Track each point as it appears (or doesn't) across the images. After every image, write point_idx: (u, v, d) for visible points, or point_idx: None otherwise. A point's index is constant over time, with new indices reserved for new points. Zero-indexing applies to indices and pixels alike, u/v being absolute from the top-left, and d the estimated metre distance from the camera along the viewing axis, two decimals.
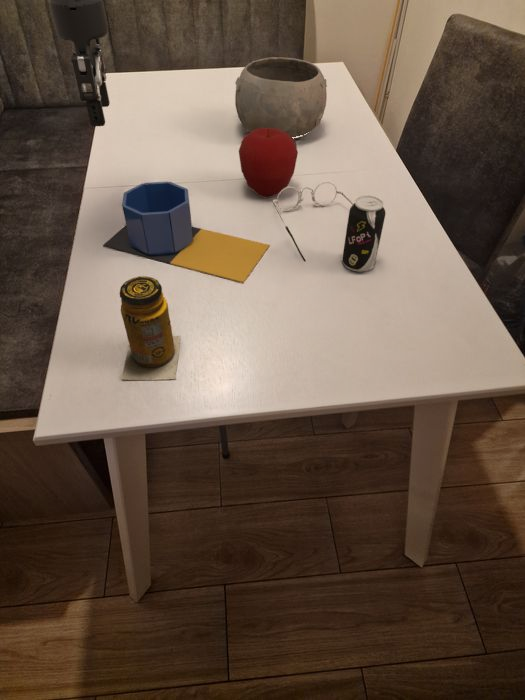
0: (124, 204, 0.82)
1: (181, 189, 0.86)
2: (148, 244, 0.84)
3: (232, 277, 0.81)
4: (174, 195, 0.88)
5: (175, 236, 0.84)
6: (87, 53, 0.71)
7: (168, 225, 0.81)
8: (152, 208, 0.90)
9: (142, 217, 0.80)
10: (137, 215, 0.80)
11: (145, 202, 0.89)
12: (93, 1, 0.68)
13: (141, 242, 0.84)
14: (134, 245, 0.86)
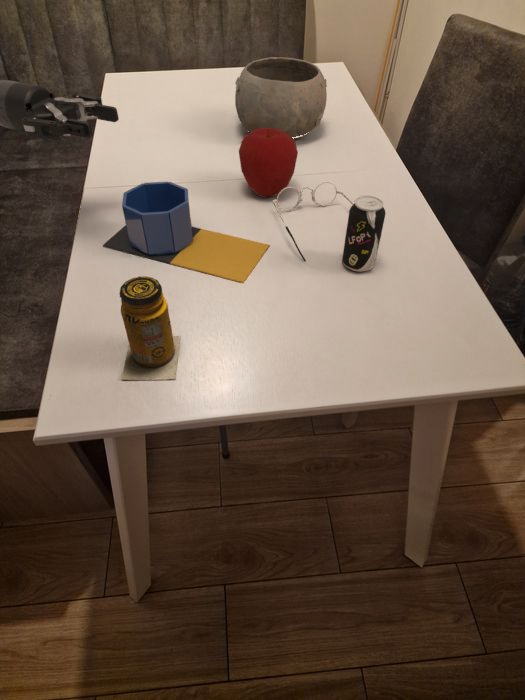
0: (124, 204, 0.82)
1: (181, 189, 0.86)
2: (148, 244, 0.84)
3: (232, 277, 0.81)
4: (174, 195, 0.88)
5: (175, 236, 0.84)
6: None
7: (168, 225, 0.81)
8: (152, 208, 0.90)
9: (142, 217, 0.80)
10: (137, 215, 0.80)
11: (145, 202, 0.89)
12: None
13: (141, 242, 0.84)
14: (134, 245, 0.86)
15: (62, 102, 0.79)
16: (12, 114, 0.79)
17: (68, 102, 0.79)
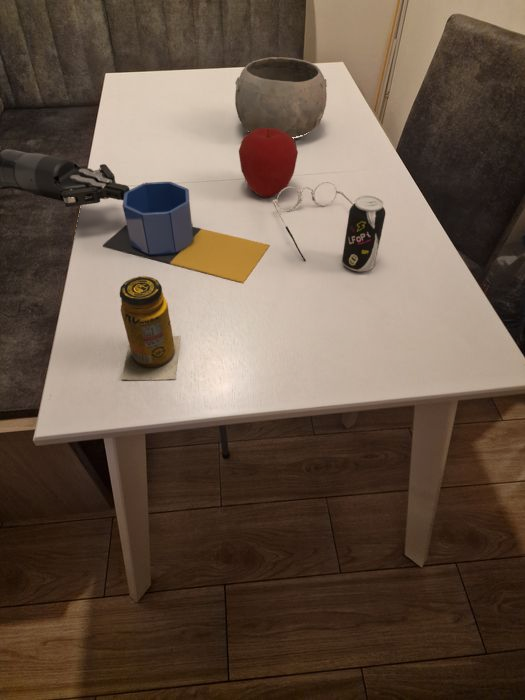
0: (125, 204, 0.82)
1: (182, 189, 0.86)
2: (149, 244, 0.84)
3: (232, 277, 0.81)
4: (175, 195, 0.88)
5: (176, 236, 0.84)
6: None
7: (169, 225, 0.81)
8: (153, 208, 0.90)
9: (143, 217, 0.80)
10: (138, 215, 0.80)
11: (146, 202, 0.89)
12: None
13: (142, 242, 0.84)
14: (135, 245, 0.86)
15: None
16: (41, 185, 0.87)
17: (87, 175, 0.87)
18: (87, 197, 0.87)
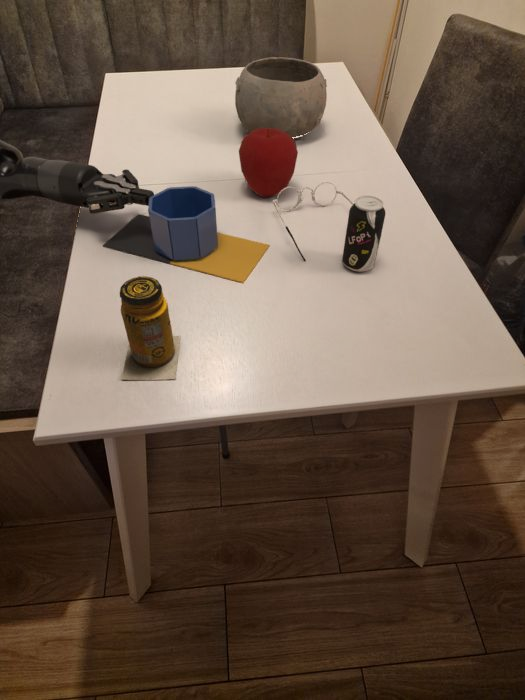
0: (150, 209, 0.81)
1: (207, 194, 0.85)
2: (174, 250, 0.82)
3: (232, 277, 0.81)
4: (199, 200, 0.87)
5: (201, 242, 0.82)
6: None
7: (195, 231, 0.80)
8: (177, 213, 0.89)
9: (169, 223, 0.79)
10: (164, 221, 0.79)
11: (170, 207, 0.88)
12: None
13: (166, 248, 0.83)
14: (159, 250, 0.85)
15: None
16: (65, 192, 0.86)
17: (111, 181, 0.86)
18: (111, 203, 0.86)
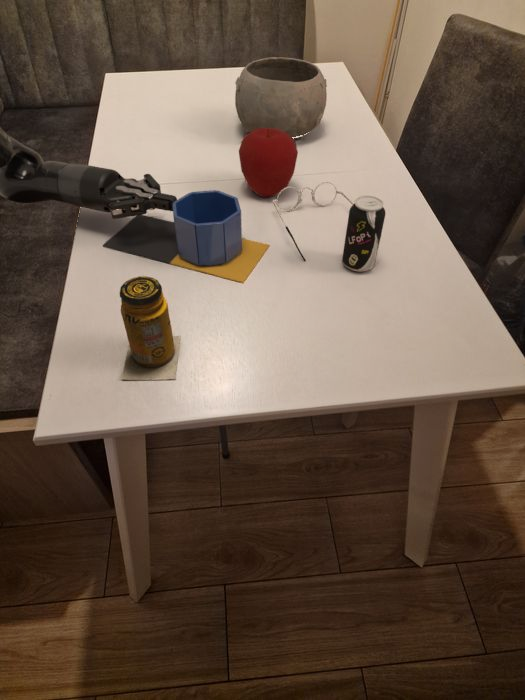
0: (175, 215, 0.79)
1: (230, 198, 0.84)
2: (200, 255, 0.81)
3: (232, 277, 0.81)
4: (221, 204, 0.86)
5: (227, 246, 0.82)
6: None
7: (221, 235, 0.79)
8: (198, 217, 0.88)
9: (196, 228, 0.78)
10: (191, 226, 0.78)
11: (191, 211, 0.87)
12: None
13: (192, 253, 0.82)
14: (183, 256, 0.84)
15: None
16: (86, 197, 0.85)
17: (133, 186, 0.85)
18: (133, 208, 0.85)
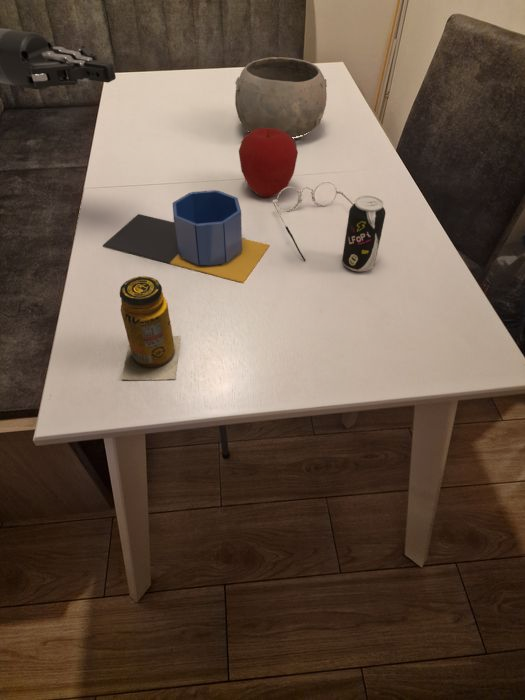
0: (175, 215, 0.79)
1: (230, 198, 0.84)
2: (200, 255, 0.81)
3: (232, 277, 0.81)
4: (221, 204, 0.86)
5: (227, 246, 0.82)
6: None
7: (221, 235, 0.79)
8: (198, 217, 0.88)
9: (196, 228, 0.78)
10: (191, 226, 0.78)
11: (191, 211, 0.87)
12: None
13: (192, 253, 0.82)
14: (183, 256, 0.84)
15: None
16: (6, 64, 0.71)
17: (63, 53, 0.71)
18: None
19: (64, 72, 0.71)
